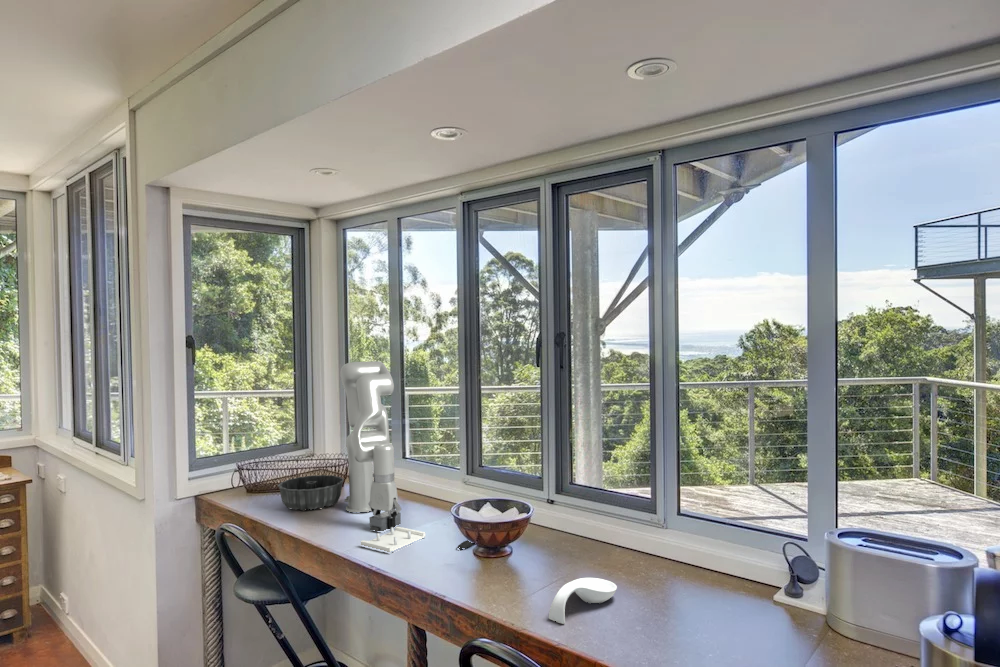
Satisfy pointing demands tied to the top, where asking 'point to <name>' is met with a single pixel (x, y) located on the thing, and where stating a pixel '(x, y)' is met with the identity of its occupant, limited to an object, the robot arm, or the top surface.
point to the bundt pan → (311, 491)
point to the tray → (394, 539)
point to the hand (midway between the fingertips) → (384, 526)
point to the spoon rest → (581, 595)
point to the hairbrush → (464, 544)
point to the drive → (382, 521)
